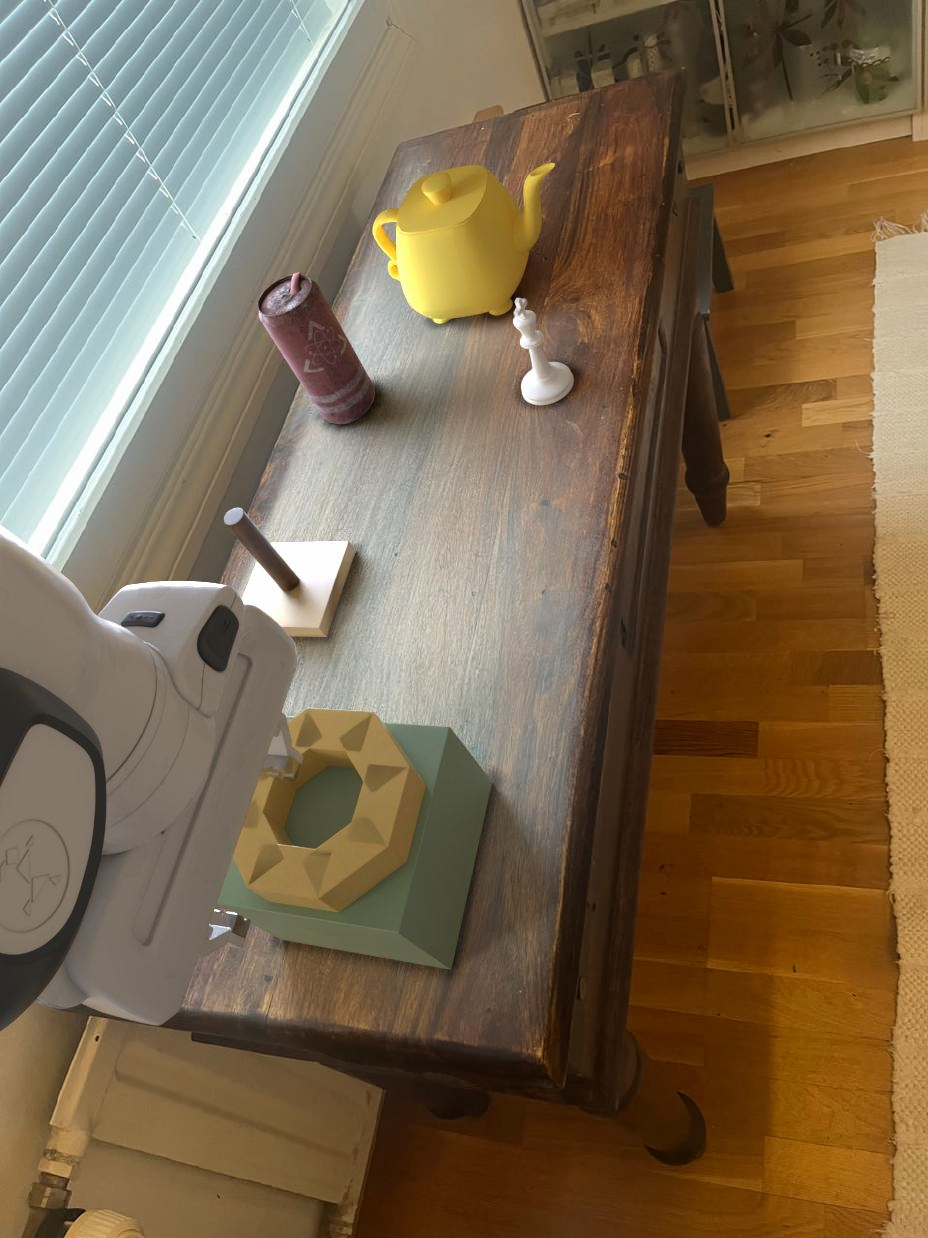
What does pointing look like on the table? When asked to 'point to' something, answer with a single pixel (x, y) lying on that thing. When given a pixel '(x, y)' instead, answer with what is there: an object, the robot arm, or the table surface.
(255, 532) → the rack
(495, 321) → the table surface
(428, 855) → the plinth
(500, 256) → the teapot
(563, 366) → the chess piece
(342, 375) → the can
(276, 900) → the brass ring
